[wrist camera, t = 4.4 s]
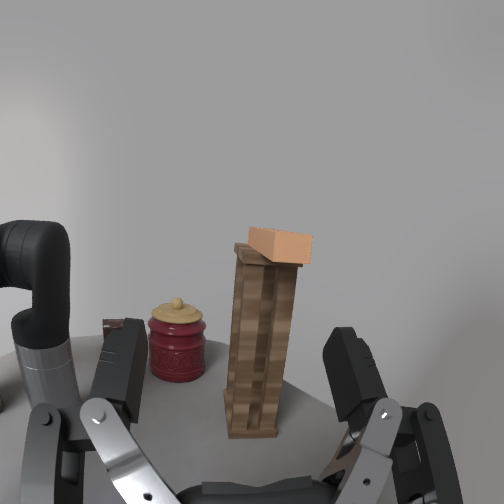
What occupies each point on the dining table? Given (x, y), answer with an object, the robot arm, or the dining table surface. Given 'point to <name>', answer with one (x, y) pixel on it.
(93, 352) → the dining table surface
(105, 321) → the box
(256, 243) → the terracotta bar
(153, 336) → the canister
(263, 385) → the walnut shelf stand
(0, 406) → the thermos
